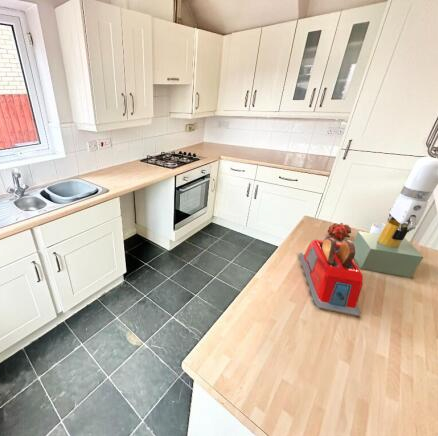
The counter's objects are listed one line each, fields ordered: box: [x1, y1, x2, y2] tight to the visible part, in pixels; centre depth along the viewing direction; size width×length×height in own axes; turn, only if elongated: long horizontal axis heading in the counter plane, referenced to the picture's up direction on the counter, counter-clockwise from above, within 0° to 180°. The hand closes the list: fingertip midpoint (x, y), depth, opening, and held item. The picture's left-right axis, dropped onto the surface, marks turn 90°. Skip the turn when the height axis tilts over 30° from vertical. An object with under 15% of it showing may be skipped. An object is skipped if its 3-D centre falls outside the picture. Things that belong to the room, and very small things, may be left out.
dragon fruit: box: [327, 222, 352, 241], centre depth 118 cm, size 8×8×12 cm
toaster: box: [299, 237, 364, 318], centre depth 89 cm, size 32×13×19 cm, turn 161°
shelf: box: [352, 230, 425, 278], centre depth 100 cm, size 16×14×10 cm
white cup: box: [368, 222, 386, 234], centre depth 111 cm, size 8×8×10 cm
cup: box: [378, 219, 407, 247], centre depth 96 cm, size 6×6×9 cm
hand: (392, 234), depth 96 cm, fingers closed on cup, 6 cm apart
